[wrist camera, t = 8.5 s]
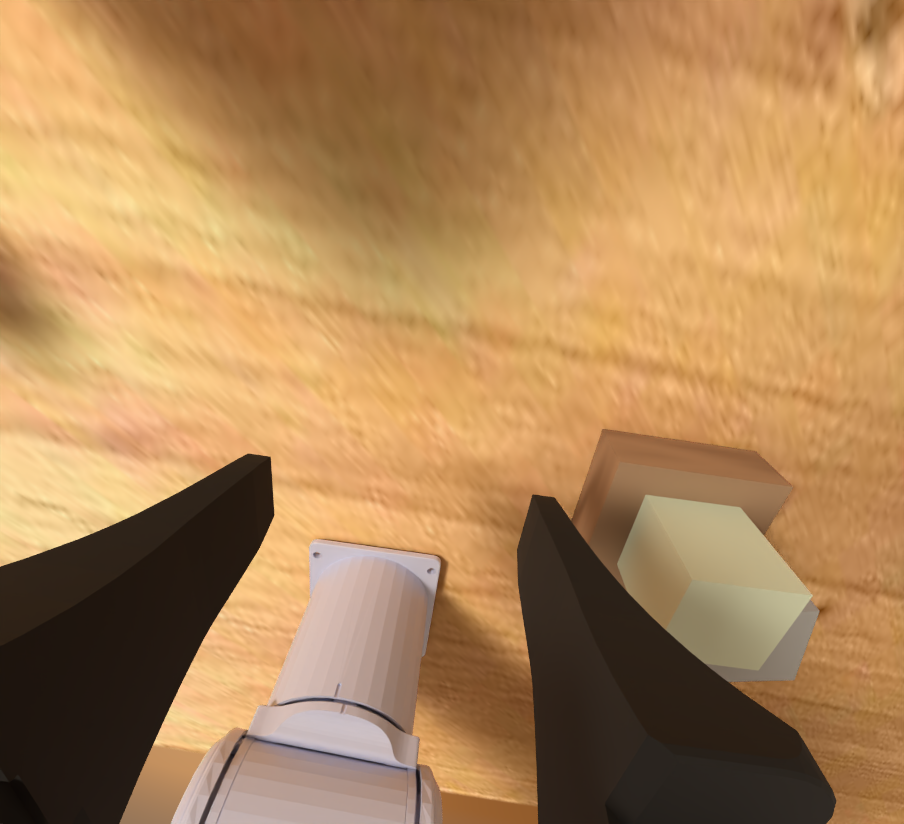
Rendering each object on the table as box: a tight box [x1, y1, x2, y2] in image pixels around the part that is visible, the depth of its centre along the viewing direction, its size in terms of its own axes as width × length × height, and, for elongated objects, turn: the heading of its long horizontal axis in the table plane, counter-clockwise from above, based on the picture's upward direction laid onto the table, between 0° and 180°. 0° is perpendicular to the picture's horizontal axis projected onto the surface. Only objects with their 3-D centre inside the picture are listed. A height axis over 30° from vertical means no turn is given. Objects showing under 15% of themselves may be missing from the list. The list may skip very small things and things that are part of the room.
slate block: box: [706, 600, 819, 682], centre depth 26 cm, size 6×6×3 cm
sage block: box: [617, 495, 813, 671], centre depth 19 cm, size 4×4×5 cm
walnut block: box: [571, 429, 793, 591], centre depth 23 cm, size 8×8×3 cm
